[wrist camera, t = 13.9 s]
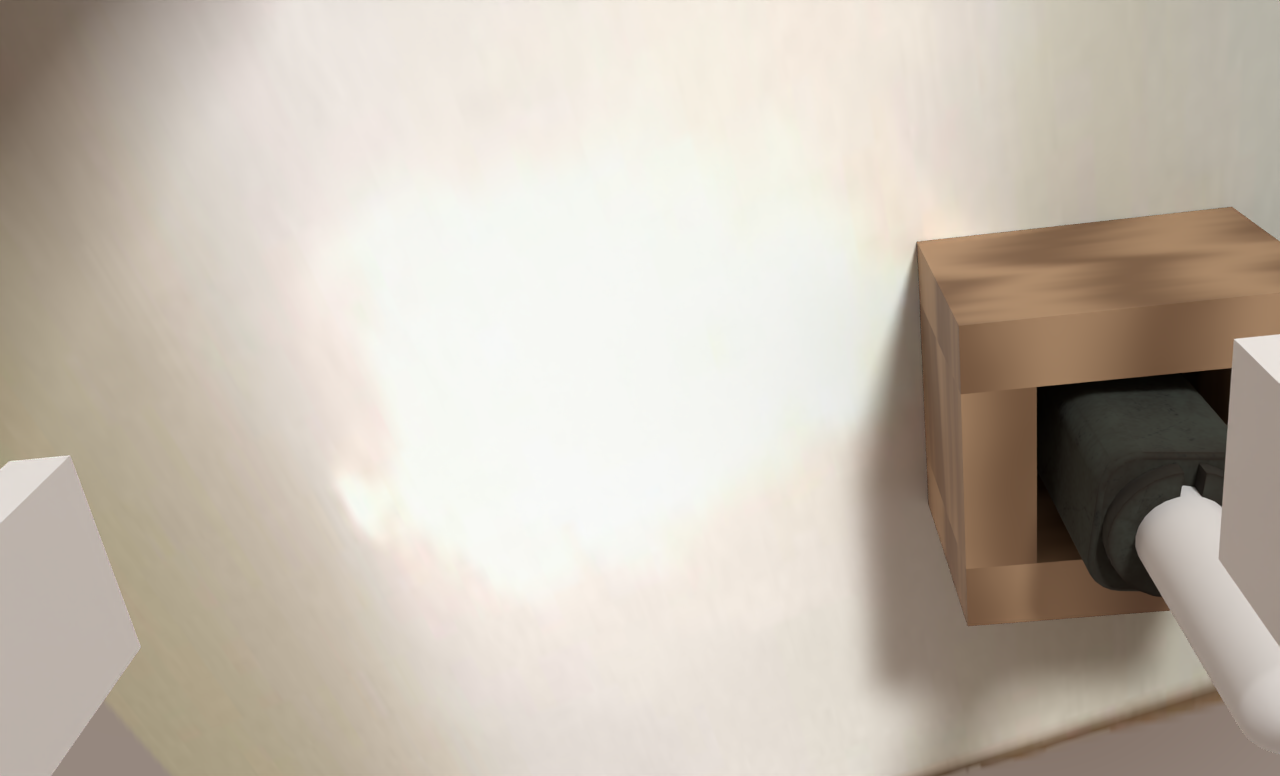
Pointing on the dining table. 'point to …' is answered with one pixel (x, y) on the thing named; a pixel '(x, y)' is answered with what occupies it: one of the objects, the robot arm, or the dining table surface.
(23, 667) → the robot arm
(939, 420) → the well block
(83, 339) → the dining table surface
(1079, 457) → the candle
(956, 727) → the dining table surface
